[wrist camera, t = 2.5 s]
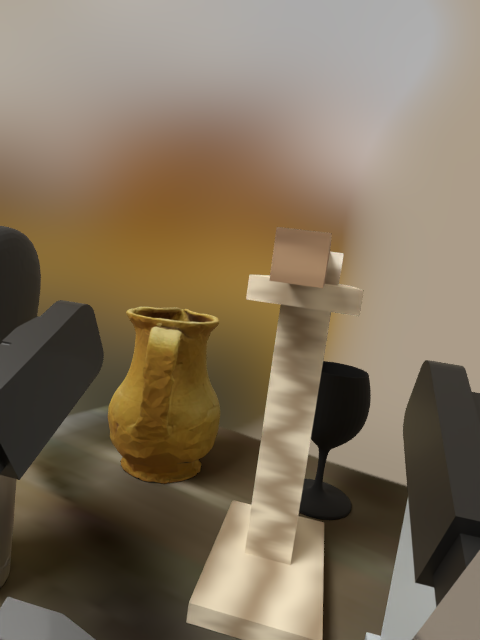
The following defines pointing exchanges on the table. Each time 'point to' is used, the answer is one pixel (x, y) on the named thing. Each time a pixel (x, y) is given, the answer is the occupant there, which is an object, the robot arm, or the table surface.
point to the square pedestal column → (277, 488)
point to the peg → (305, 258)
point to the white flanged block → (405, 594)
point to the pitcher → (166, 397)
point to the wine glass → (335, 434)
